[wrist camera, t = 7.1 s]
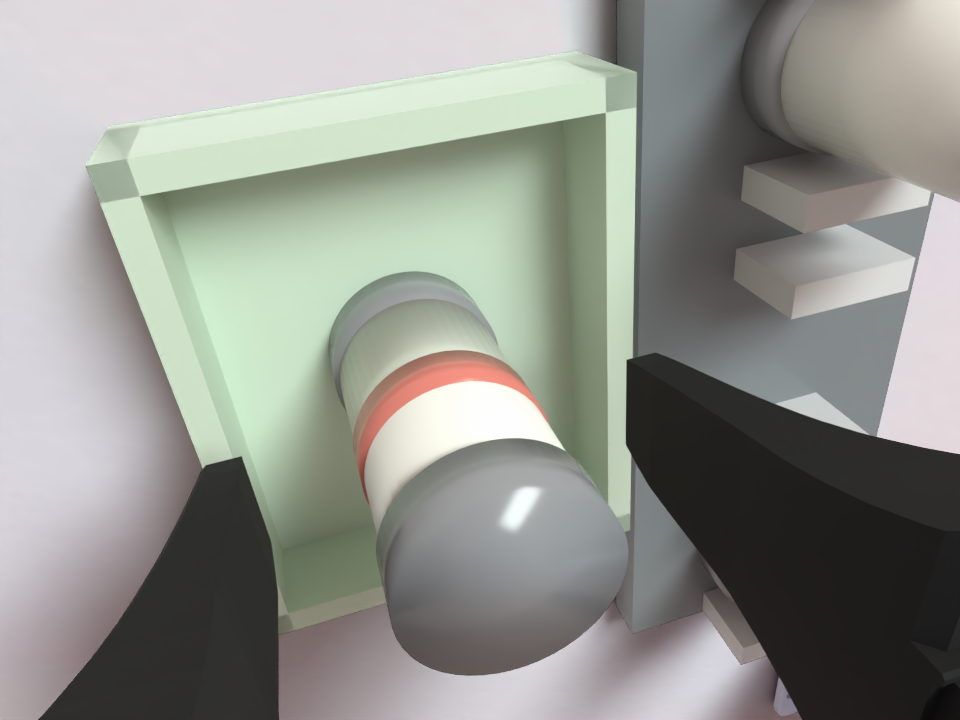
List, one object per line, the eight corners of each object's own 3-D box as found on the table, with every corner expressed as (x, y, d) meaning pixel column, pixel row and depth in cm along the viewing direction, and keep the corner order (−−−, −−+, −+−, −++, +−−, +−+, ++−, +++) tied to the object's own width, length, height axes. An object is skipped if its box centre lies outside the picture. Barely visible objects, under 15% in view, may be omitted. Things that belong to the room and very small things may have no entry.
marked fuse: (492, 388, 18) (630, 629, 12) (347, 428, 17) (414, 704, 11) (473, 255, 16) (627, 459, 10) (310, 293, 16) (366, 537, 9)
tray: (587, 466, 21) (630, 530, 19) (263, 556, 19) (268, 638, 17) (576, 51, 15) (636, 72, 13) (109, 126, 13) (85, 165, 11)
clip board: (822, 539, 26) (894, 613, 23) (615, 605, 25) (666, 693, 22) (962, -132, 16) (1123, -145, 13) (617, -90, 14) (713, -94, 11)
